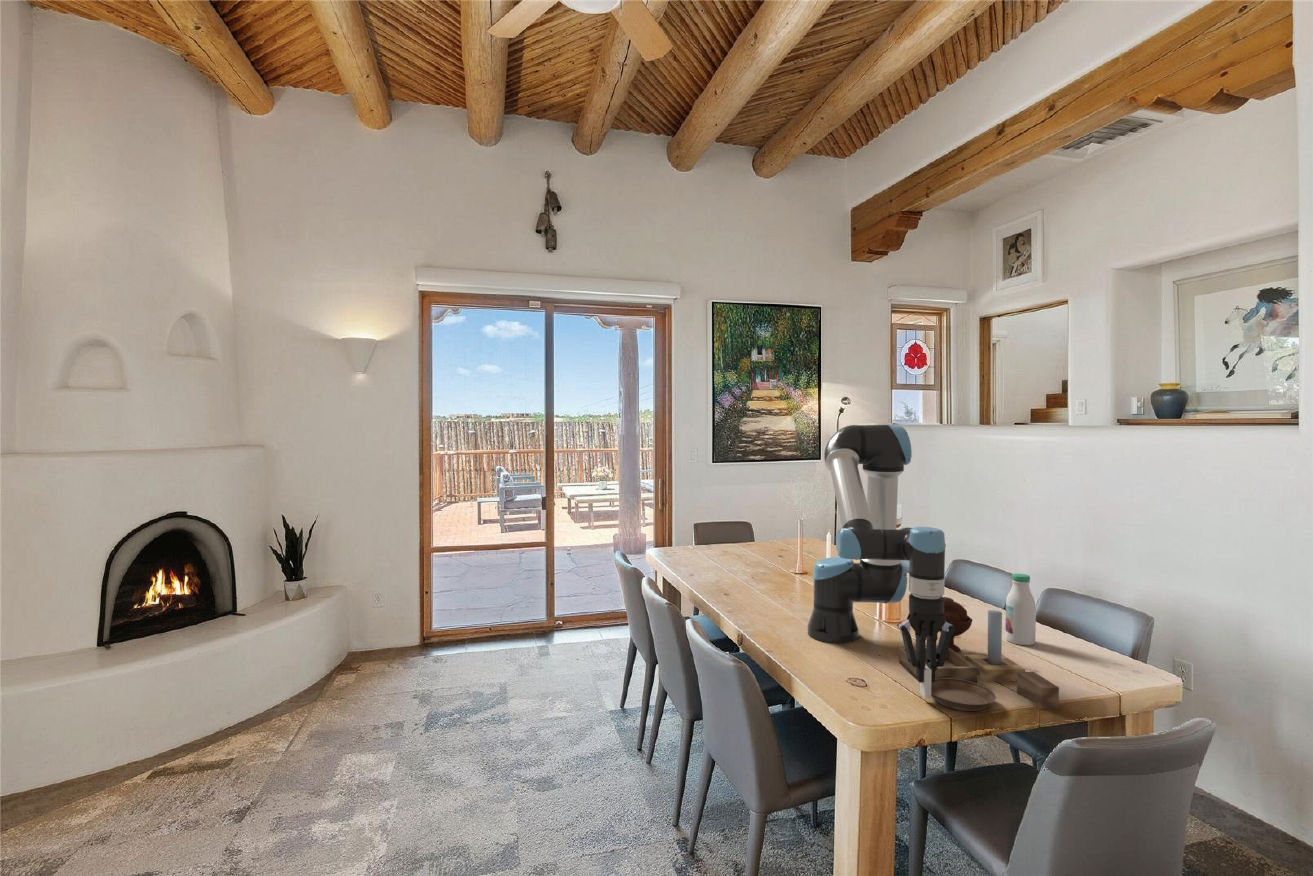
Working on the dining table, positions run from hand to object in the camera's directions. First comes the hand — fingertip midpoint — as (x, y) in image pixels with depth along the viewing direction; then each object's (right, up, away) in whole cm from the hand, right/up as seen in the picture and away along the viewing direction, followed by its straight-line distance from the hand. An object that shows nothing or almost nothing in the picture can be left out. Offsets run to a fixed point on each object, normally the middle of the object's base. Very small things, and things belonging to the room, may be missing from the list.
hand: (925, 695), depth 143 cm
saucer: (+8, -2, 0) cm, 8 cm away
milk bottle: (+46, -1, +40) cm, 61 cm away
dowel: (+25, -1, +17) cm, 30 cm away
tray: (+10, -1, +17) cm, 20 cm away
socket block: (+25, -1, +17) cm, 30 cm away
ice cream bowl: (+22, -1, +34) cm, 40 cm away
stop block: (+27, -1, +1) cm, 27 cm away
